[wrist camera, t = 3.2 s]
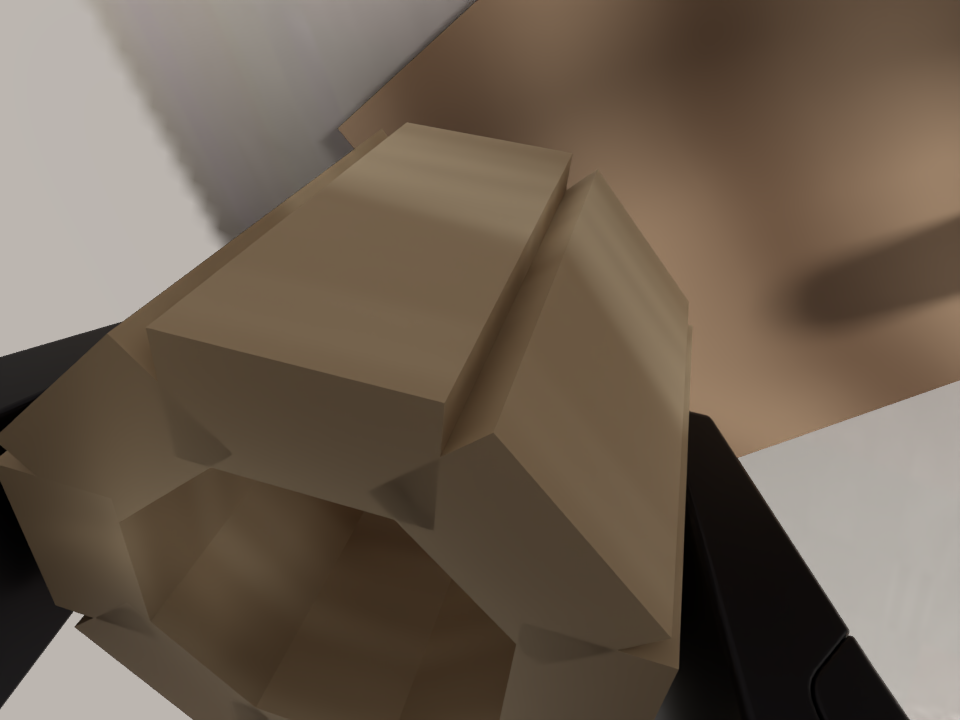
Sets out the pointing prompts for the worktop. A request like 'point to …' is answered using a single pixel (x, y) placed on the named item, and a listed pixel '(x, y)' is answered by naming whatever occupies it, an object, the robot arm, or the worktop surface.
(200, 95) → the worktop surface
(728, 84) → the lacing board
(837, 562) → the worktop surface
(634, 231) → the wooden octagonal holder
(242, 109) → the worktop surface
